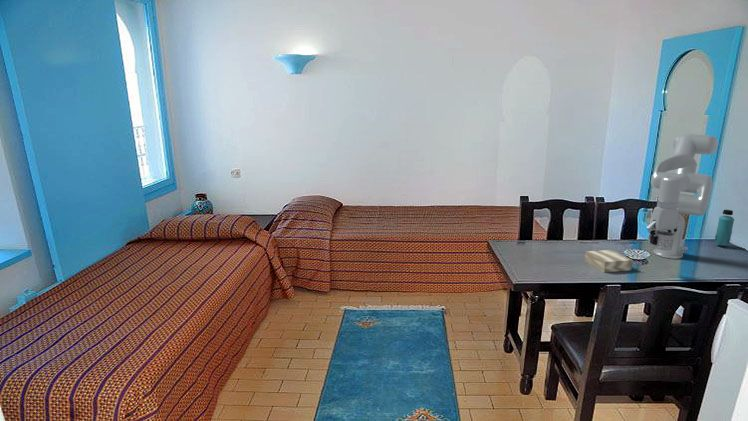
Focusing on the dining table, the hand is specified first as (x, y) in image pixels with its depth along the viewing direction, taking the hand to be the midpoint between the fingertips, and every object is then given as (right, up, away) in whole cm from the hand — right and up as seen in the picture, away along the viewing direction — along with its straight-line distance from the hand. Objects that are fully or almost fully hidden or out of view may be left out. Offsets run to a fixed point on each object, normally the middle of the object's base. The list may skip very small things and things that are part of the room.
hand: (660, 243), depth 192 cm
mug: (-1, -2, 0) cm, 2 cm away
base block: (-17, -12, +12) cm, 24 cm away
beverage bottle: (+57, -5, +38) cm, 69 cm away
